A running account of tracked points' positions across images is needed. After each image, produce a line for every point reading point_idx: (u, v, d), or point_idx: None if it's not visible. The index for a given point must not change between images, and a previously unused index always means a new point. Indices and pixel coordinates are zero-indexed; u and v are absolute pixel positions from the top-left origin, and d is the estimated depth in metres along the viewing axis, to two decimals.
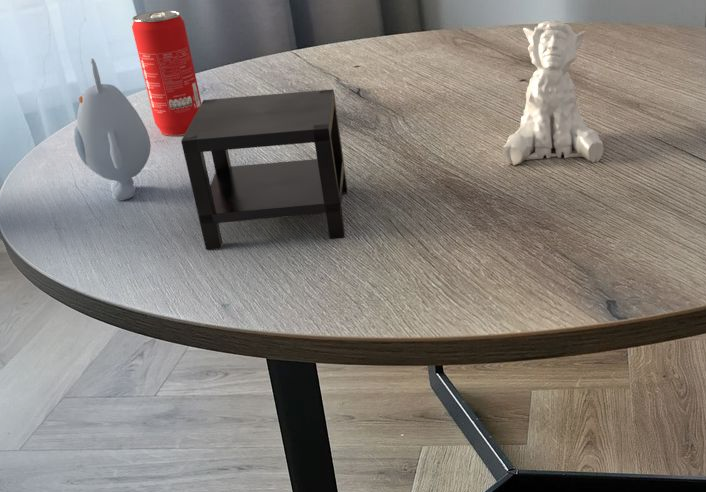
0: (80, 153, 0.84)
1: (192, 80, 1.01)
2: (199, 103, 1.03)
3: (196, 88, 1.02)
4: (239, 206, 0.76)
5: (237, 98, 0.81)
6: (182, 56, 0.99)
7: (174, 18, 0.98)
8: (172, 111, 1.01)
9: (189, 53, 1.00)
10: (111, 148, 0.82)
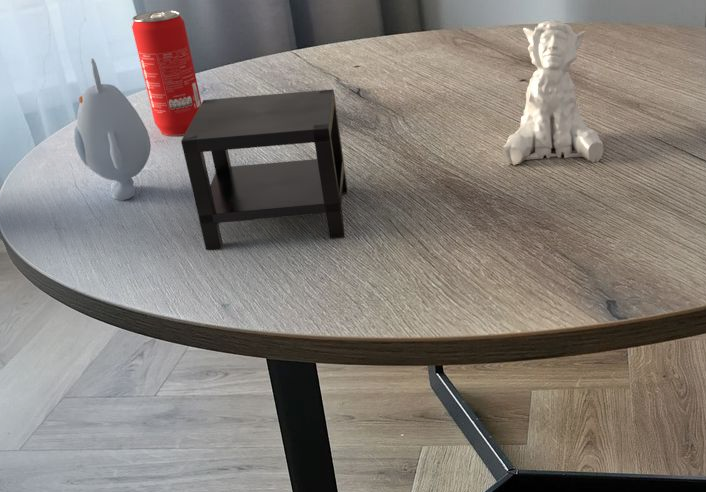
0: (80, 153, 0.84)
1: (192, 80, 1.01)
2: (199, 103, 1.03)
3: (196, 88, 1.02)
4: (239, 206, 0.76)
5: (237, 98, 0.81)
6: (182, 56, 0.99)
7: (174, 18, 0.98)
8: (172, 111, 1.01)
9: (189, 53, 1.00)
10: (111, 148, 0.82)
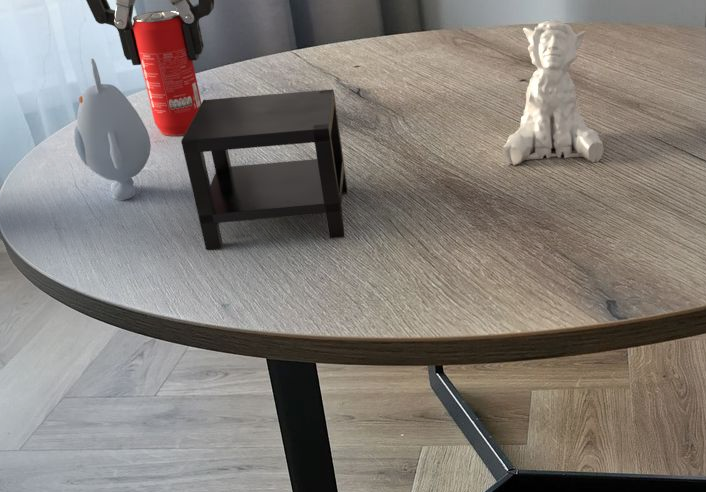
0: (80, 153, 0.84)
1: (192, 80, 1.01)
2: (199, 103, 1.03)
3: (196, 88, 1.02)
4: (239, 206, 0.76)
5: (237, 98, 0.81)
6: (182, 56, 0.99)
7: (174, 18, 0.98)
8: (173, 111, 1.01)
9: None
10: (111, 148, 0.82)
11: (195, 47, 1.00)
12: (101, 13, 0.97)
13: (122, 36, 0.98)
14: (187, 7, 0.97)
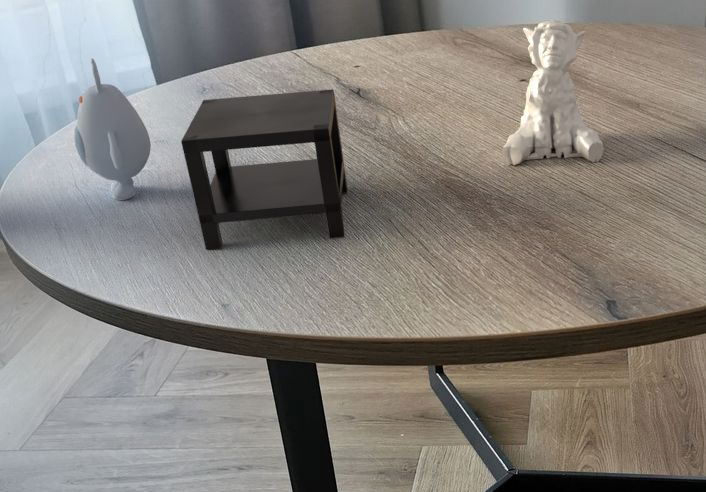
0: (80, 153, 0.84)
1: None
2: None
3: None
4: (239, 206, 0.76)
5: (237, 98, 0.81)
6: None
7: None
8: None
9: None
10: (111, 148, 0.82)
11: None
12: None
13: None
14: None
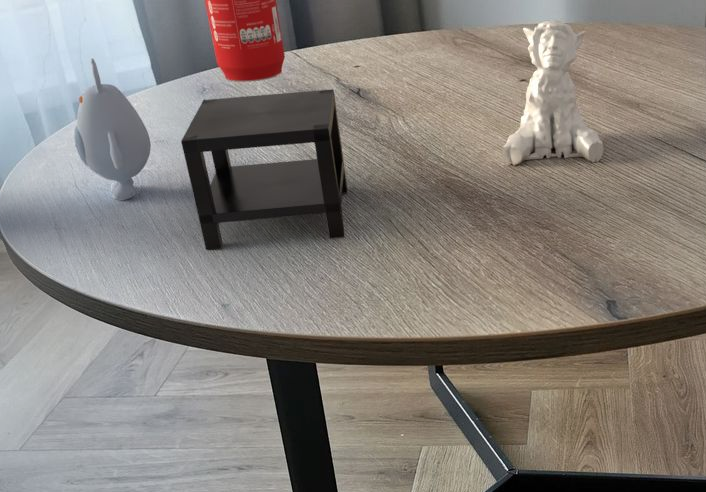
0: (80, 153, 0.84)
1: (272, 2, 0.72)
2: (280, 36, 0.74)
3: (276, 15, 0.73)
4: (239, 206, 0.76)
5: (237, 98, 0.81)
6: None
7: None
8: (245, 46, 0.72)
9: None
10: (111, 148, 0.82)
11: None
12: None
13: None
14: None
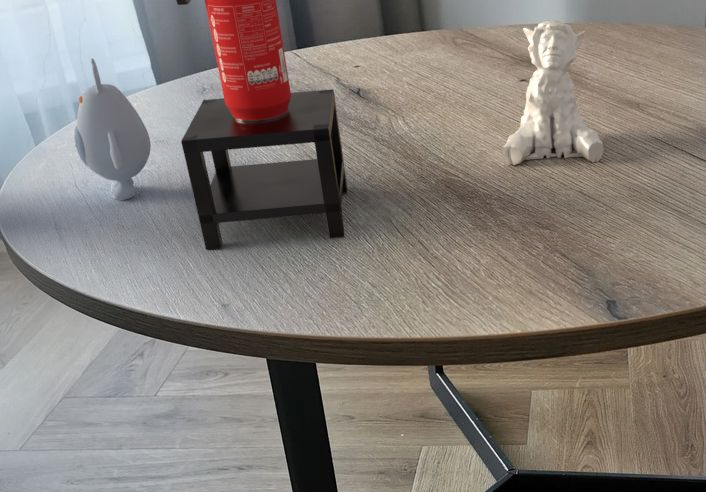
0: (80, 153, 0.84)
1: (279, 44, 0.73)
2: (286, 77, 0.75)
3: (283, 56, 0.74)
4: (239, 206, 0.76)
5: None
6: (267, 10, 0.71)
7: None
8: (252, 87, 0.73)
9: (275, 7, 0.73)
10: (111, 148, 0.82)
11: None
12: None
13: None
14: None
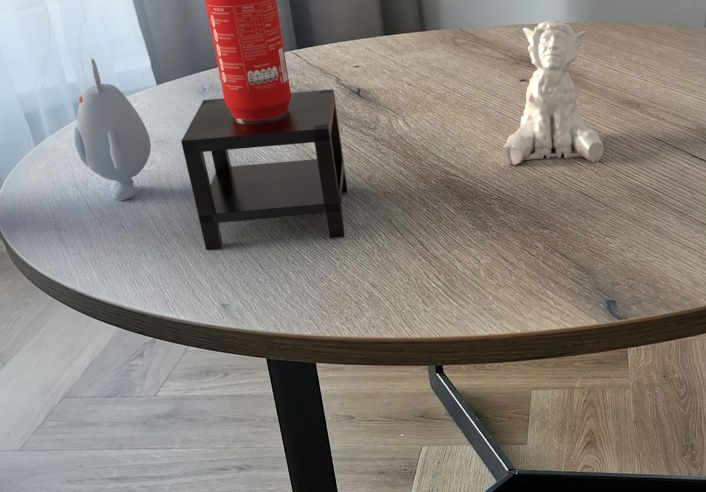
0: (80, 153, 0.84)
1: (279, 44, 0.73)
2: (286, 77, 0.75)
3: (283, 56, 0.74)
4: (239, 206, 0.76)
5: None
6: (267, 10, 0.71)
7: None
8: (252, 87, 0.73)
9: (275, 7, 0.73)
10: (111, 148, 0.82)
11: None
12: None
13: None
14: None
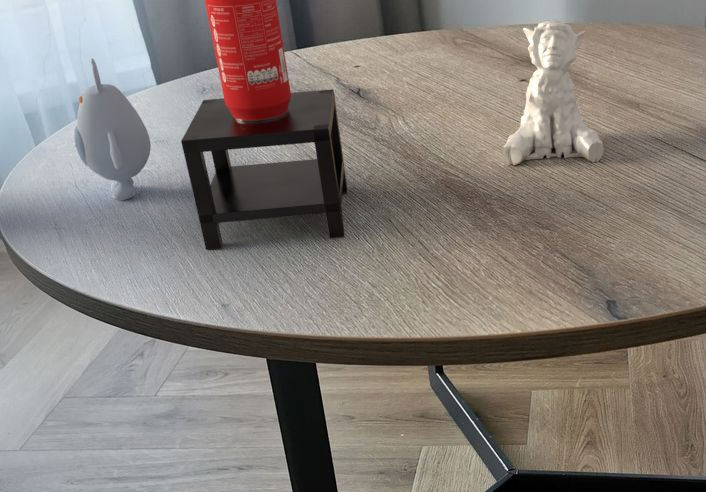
0: (80, 153, 0.84)
1: (279, 44, 0.73)
2: (286, 77, 0.75)
3: (283, 56, 0.74)
4: (239, 206, 0.76)
5: None
6: (267, 10, 0.71)
7: None
8: (252, 87, 0.73)
9: (275, 7, 0.73)
10: (111, 148, 0.82)
11: None
12: None
13: None
14: None
